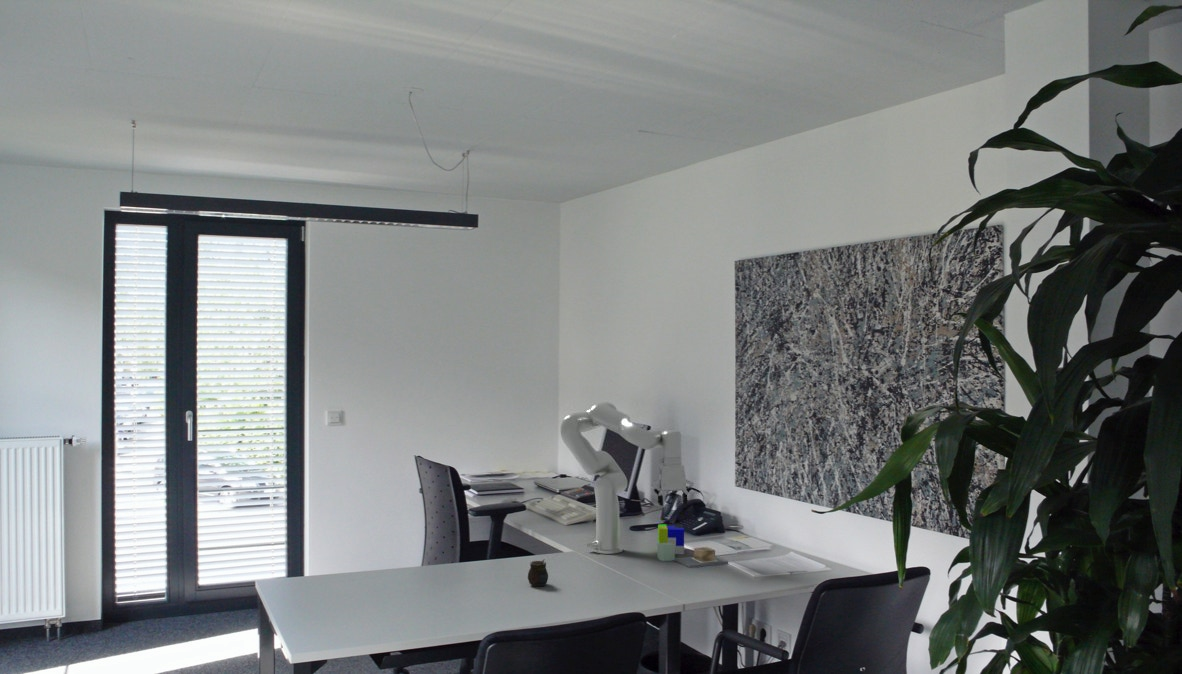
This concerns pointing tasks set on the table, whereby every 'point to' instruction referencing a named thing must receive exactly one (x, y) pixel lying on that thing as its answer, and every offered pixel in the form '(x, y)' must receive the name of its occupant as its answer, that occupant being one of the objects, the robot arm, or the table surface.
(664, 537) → the puzzle toy
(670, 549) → the sage block
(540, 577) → the mate gourd
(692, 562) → the felt mat
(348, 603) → the table surface
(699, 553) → the oak base block
